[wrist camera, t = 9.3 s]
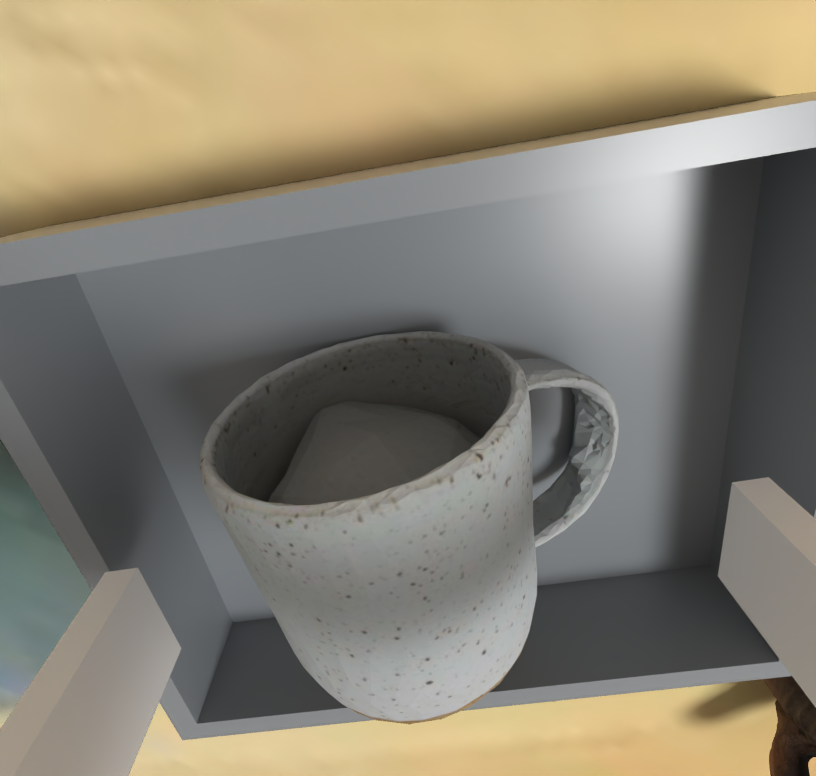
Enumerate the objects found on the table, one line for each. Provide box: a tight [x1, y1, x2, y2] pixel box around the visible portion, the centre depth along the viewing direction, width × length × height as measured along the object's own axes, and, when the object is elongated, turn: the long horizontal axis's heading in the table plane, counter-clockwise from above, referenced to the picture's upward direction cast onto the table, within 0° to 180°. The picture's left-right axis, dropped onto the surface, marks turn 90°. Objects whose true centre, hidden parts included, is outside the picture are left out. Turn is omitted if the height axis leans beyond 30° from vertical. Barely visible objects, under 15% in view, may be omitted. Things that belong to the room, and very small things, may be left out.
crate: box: [0, 92, 816, 740], centre depth 15 cm, size 21×17×5 cm
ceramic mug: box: [200, 331, 619, 724], centre depth 13 cm, size 11×8×8 cm
